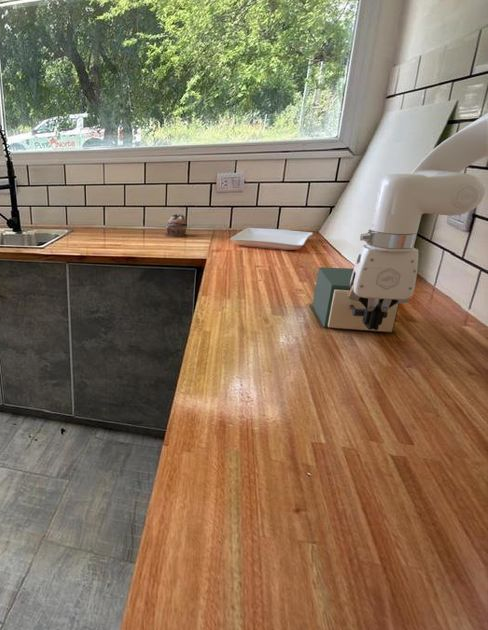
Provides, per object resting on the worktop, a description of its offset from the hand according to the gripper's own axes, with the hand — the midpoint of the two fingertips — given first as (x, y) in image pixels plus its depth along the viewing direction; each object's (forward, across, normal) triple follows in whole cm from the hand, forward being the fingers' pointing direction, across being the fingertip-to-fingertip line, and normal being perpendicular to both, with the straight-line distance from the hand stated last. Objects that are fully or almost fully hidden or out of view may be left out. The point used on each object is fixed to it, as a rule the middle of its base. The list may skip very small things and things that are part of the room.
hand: (370, 327), depth 94 cm
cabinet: (+4, +1, +15) cm, 16 cm away
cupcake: (+4, -46, +114) cm, 123 cm away
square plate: (+4, -6, +101) cm, 101 cm away
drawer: (+3, 0, +11) cm, 12 cm away
